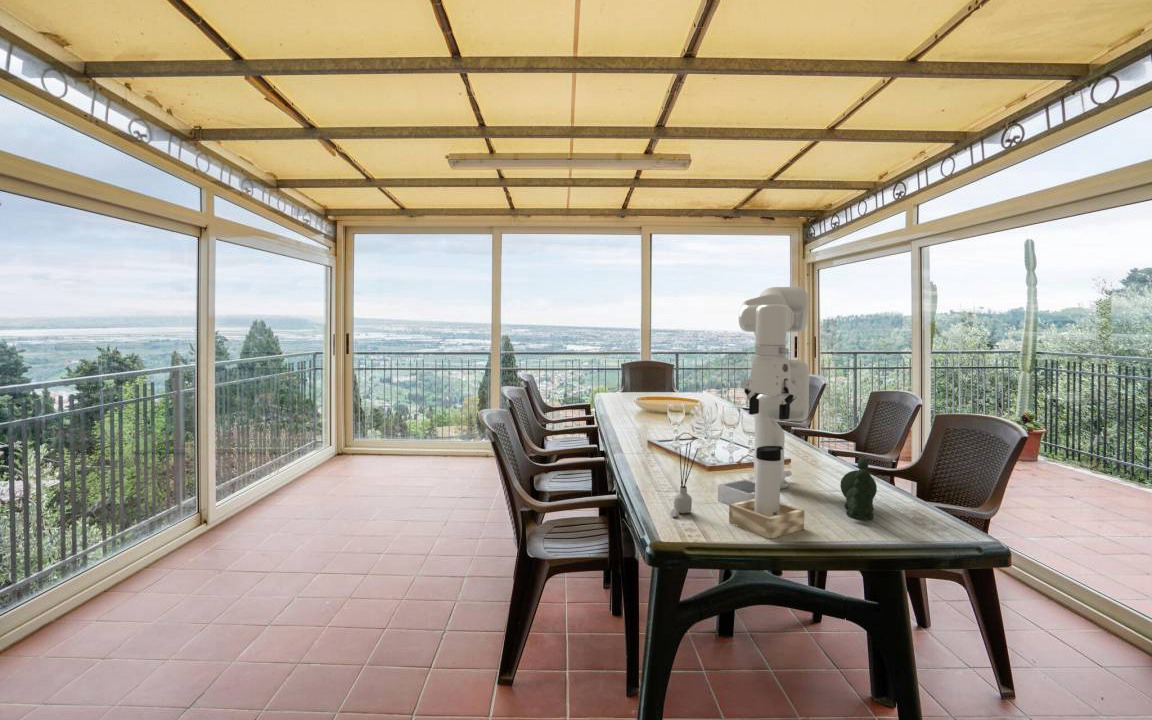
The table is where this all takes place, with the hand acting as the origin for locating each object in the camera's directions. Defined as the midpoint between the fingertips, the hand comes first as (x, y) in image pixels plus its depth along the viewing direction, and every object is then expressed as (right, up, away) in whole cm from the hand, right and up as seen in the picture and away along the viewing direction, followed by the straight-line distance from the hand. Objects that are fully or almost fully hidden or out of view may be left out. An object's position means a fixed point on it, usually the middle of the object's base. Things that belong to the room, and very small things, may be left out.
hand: (768, 416), depth 144 cm
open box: (+1, -28, +21) cm, 35 cm away
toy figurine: (+30, -29, +11) cm, 43 cm away
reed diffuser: (-20, -29, +10) cm, 37 cm away
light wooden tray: (0, -29, +1) cm, 29 cm away
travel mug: (0, -28, +1) cm, 28 cm away
